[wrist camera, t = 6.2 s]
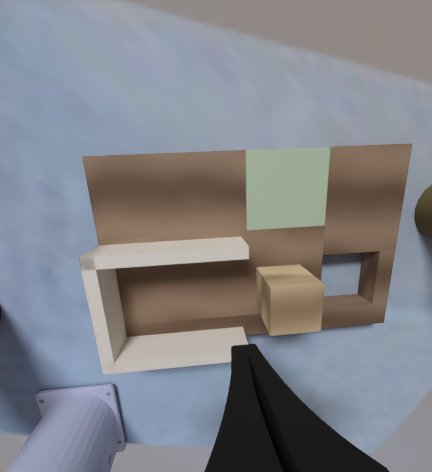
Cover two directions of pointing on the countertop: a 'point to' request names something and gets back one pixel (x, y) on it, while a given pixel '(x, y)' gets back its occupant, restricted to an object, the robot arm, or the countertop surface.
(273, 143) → the countertop surface
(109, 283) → the cubby
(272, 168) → the pad
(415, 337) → the countertop surface
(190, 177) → the board
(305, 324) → the block
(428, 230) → the cork
